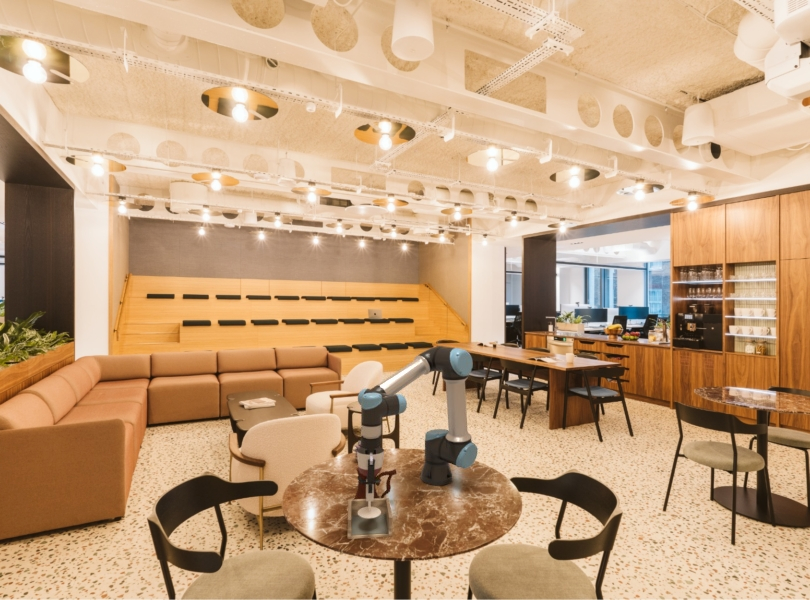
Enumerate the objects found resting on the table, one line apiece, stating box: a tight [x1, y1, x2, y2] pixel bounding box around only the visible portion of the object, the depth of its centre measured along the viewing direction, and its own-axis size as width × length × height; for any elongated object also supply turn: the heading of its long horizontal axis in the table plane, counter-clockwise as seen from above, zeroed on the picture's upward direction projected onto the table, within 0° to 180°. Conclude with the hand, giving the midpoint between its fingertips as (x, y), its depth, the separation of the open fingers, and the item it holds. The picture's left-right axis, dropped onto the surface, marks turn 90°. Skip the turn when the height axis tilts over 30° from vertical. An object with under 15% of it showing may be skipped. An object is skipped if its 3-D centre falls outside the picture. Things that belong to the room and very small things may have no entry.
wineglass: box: [356, 446, 385, 518], centre depth 153 cm, size 9×10×23 cm
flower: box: [353, 440, 361, 458], centre depth 217 cm, size 12×12×12 cm
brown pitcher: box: [352, 466, 397, 500], centre depth 172 cm, size 18×12×15 cm, turn 94°
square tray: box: [347, 497, 394, 540], centre depth 154 cm, size 16×15×7 cm
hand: (369, 498), depth 153 cm, fingers open, 2 cm apart
